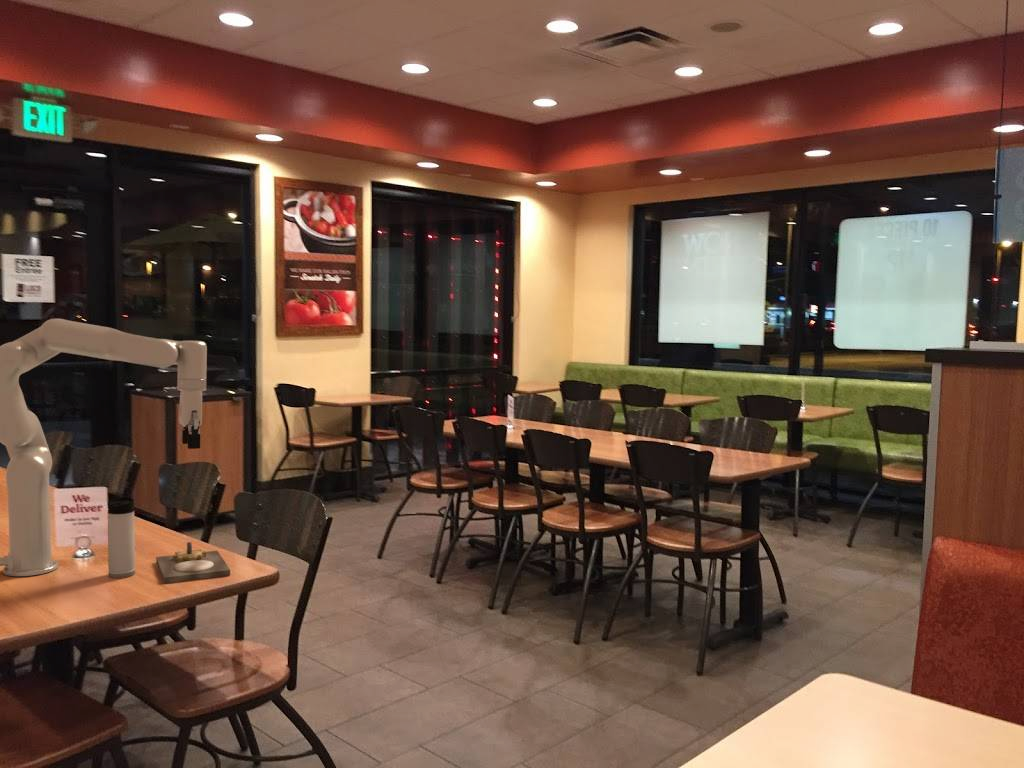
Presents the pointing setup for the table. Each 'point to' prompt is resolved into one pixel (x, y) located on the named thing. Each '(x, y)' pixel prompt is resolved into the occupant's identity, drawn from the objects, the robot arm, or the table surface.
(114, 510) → the travel mug
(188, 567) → the grey sink model
